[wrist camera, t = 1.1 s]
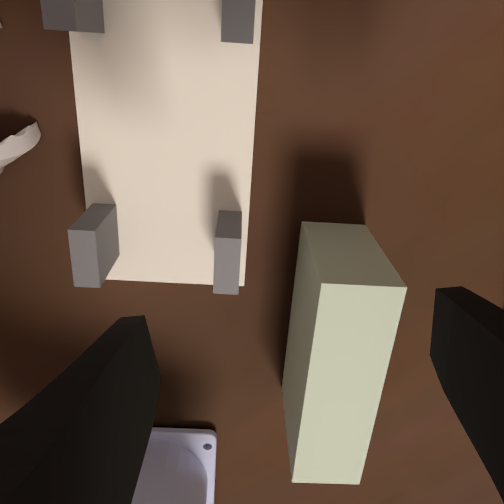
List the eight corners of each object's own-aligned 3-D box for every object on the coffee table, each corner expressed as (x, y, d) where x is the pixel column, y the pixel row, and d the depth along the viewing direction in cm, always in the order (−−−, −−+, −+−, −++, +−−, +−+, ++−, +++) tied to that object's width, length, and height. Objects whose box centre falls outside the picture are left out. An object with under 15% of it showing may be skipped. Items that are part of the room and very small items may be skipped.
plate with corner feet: (244, 276, 22) (243, 322, 18) (99, 268, 22) (70, 314, 18) (266, -70, 16) (272, -103, 12) (67, -87, 16) (14, -125, 12)
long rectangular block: (334, 389, 25) (359, 484, 20) (281, 386, 25) (291, 482, 20) (364, 224, 21) (407, 287, 16) (301, 220, 21) (321, 283, 15)
